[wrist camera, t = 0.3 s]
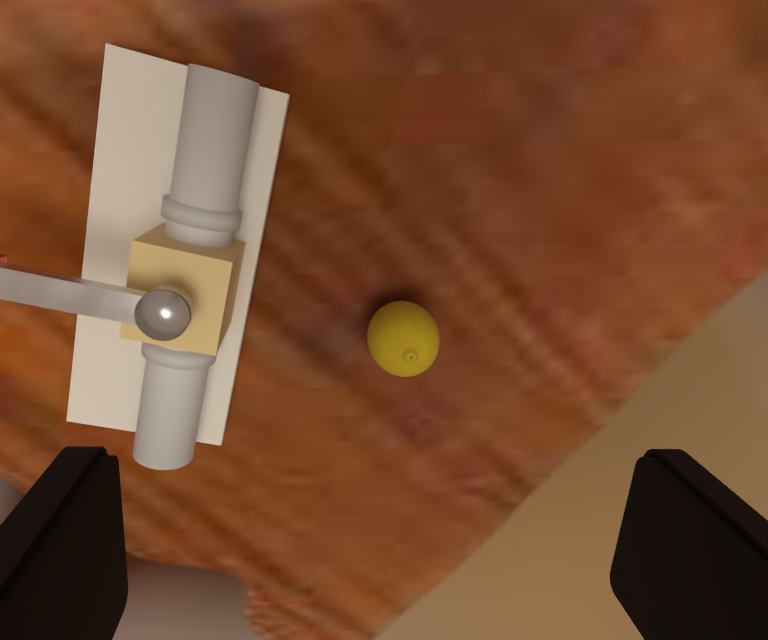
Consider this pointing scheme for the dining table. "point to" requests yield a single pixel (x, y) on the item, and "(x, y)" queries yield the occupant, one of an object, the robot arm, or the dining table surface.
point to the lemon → (403, 338)
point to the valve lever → (100, 299)
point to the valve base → (137, 213)
